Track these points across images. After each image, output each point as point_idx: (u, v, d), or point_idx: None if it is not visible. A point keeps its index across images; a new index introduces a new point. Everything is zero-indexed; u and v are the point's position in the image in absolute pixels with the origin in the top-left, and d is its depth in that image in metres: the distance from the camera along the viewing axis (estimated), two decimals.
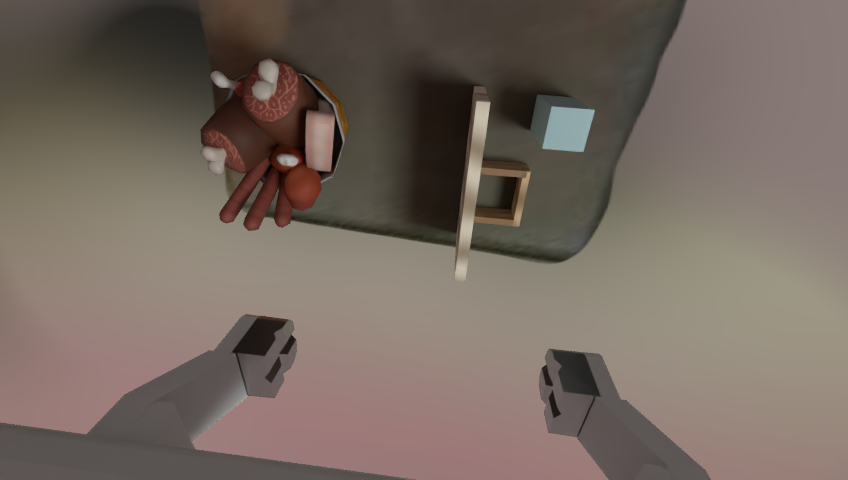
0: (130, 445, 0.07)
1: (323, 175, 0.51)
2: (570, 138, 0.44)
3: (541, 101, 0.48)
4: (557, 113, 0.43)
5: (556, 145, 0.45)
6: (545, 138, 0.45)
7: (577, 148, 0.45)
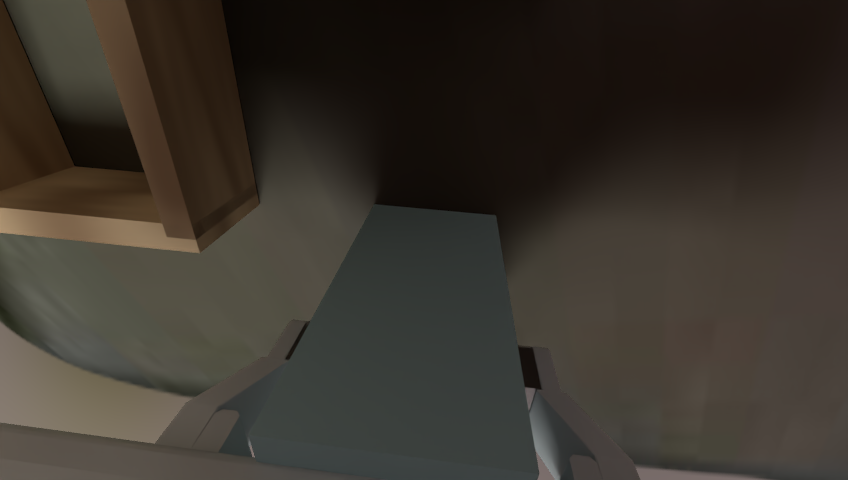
0: (130, 445, 0.07)
1: None
2: None
3: (492, 266, 0.11)
4: None
5: None
6: (318, 448, 0.06)
7: None
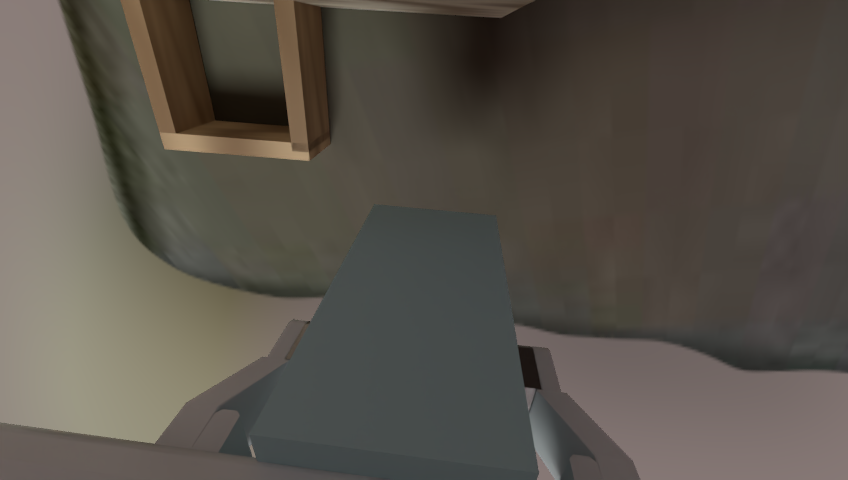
0: (130, 445, 0.07)
1: None
2: None
3: (492, 266, 0.11)
4: None
5: None
6: (319, 448, 0.06)
7: None
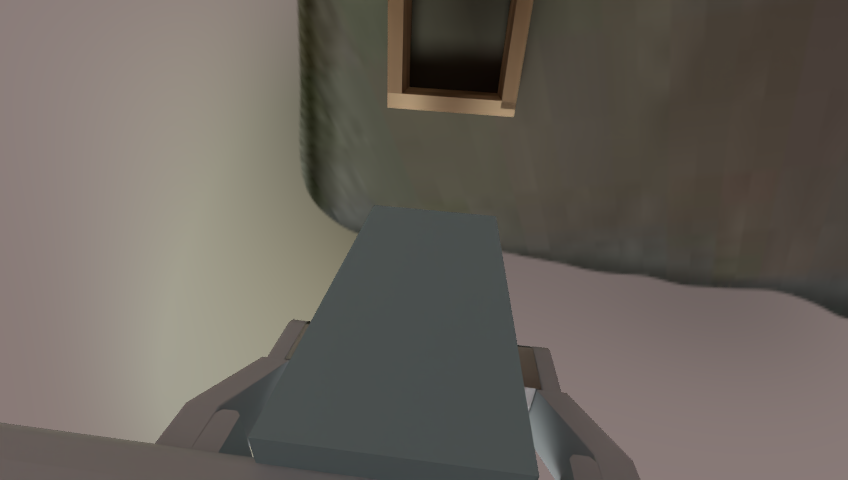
0: (130, 445, 0.07)
1: None
2: None
3: (492, 267, 0.11)
4: None
5: None
6: (318, 451, 0.06)
7: None
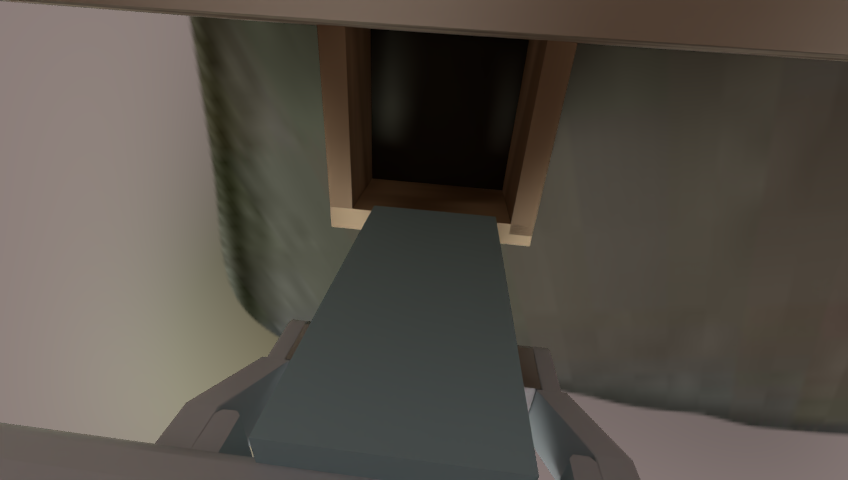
0: (130, 445, 0.07)
1: None
2: None
3: (492, 267, 0.11)
4: None
5: None
6: (318, 451, 0.06)
7: None
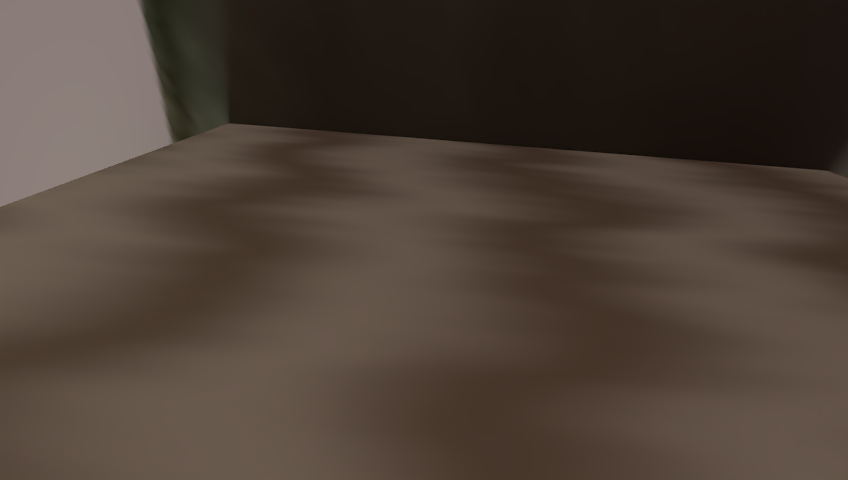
0: None
1: None
2: None
3: None
4: None
5: None
6: None
7: None
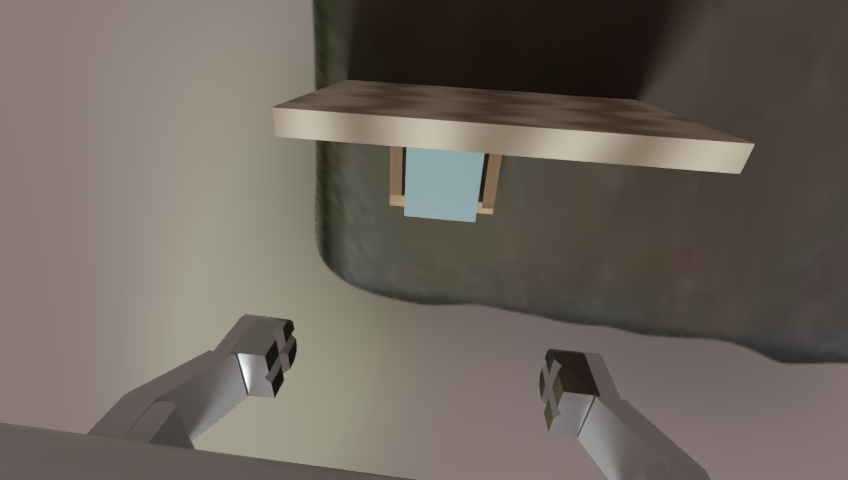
0: (130, 445, 0.07)
1: None
2: (426, 192, 0.25)
3: None
4: (471, 163, 0.23)
5: (412, 170, 0.24)
6: None
7: (409, 206, 0.25)
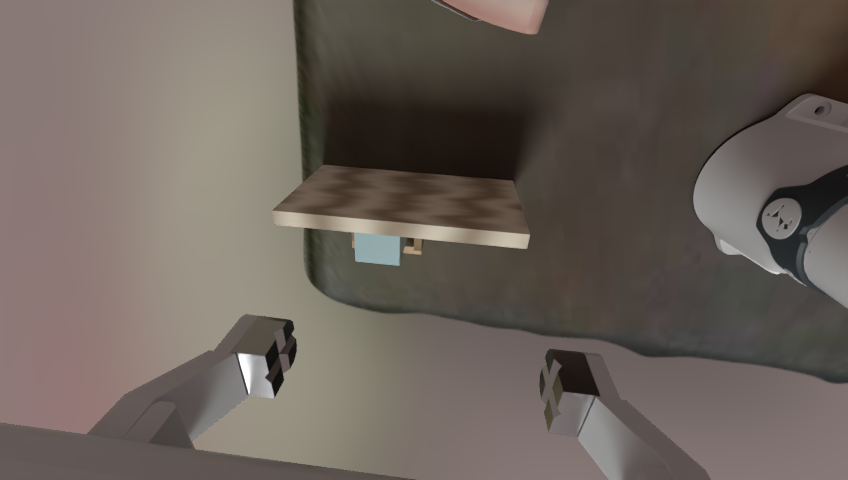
0: (130, 445, 0.07)
1: None
2: (367, 247, 0.40)
3: None
4: None
5: (358, 235, 0.39)
6: None
7: (358, 255, 0.41)
